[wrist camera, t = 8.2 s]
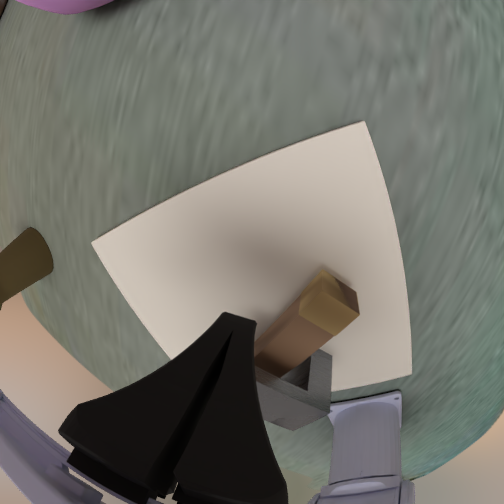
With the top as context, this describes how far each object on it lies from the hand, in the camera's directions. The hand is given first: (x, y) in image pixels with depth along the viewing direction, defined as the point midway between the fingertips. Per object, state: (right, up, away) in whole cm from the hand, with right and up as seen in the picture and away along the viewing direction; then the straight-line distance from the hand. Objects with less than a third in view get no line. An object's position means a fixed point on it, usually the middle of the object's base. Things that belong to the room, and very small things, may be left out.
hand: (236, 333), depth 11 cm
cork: (-24, +3, +13) cm, 28 cm away
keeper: (+1, -6, +11) cm, 12 cm away
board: (+1, -1, +9) cm, 9 cm away
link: (+2, -4, +8) cm, 9 cm away
